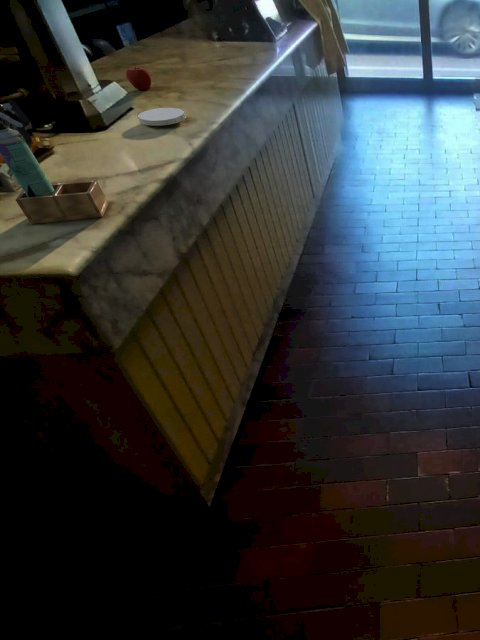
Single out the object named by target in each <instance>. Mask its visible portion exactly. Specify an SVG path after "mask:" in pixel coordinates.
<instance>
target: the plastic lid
mask: <svg viewBox="0 0 480 640" xmlns="http://www.w3.org/2000/svg"><path fill="white" fill-rule="evenodd" d="M137 118H138V120H139V122H140V124H141V125H144V126H152V127H153V126H154V127H155V126H169V125H174V124H178V123H180V122H182V121H185V120H186V119H187V115H186V113H185V111H184V110H183V109H181V108H176V107H159V108H151V109H147V110H145V111H141V112H140V113H138V114H137Z"/></svg>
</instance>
